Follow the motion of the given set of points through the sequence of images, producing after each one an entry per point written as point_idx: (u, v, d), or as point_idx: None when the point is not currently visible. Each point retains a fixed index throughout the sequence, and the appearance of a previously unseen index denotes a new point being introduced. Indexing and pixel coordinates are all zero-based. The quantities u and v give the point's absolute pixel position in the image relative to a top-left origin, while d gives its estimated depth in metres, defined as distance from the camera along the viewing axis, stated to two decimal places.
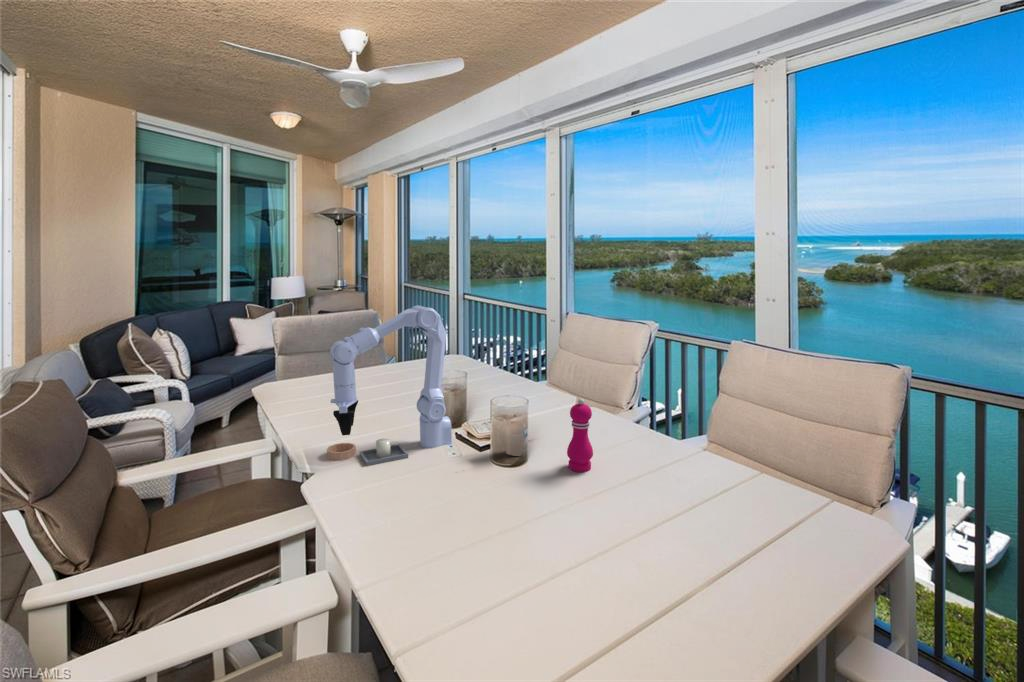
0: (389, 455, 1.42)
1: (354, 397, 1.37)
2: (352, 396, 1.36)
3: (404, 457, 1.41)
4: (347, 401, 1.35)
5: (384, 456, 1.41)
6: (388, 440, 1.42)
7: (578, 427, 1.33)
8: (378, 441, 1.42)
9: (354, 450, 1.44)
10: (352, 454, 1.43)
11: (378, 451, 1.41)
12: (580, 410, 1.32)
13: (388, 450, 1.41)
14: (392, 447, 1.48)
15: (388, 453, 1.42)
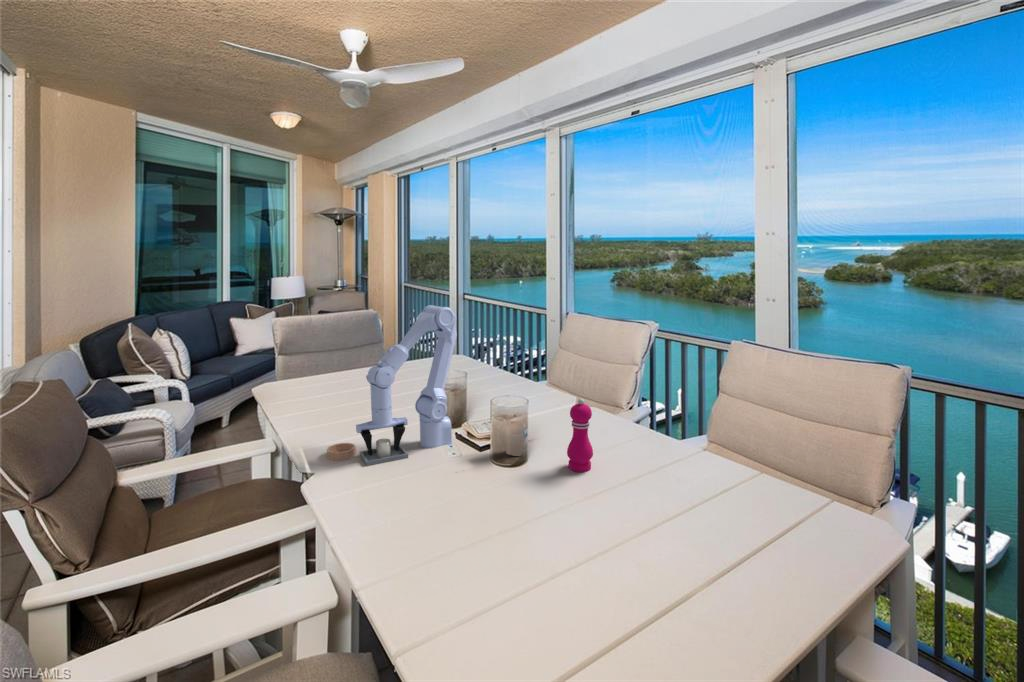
0: (389, 455, 1.42)
1: (380, 422, 1.38)
2: (377, 421, 1.38)
3: (404, 457, 1.41)
4: (373, 423, 1.39)
5: (384, 456, 1.41)
6: (388, 440, 1.42)
7: (578, 427, 1.33)
8: (378, 441, 1.42)
9: (354, 450, 1.44)
10: (352, 454, 1.43)
11: (378, 451, 1.41)
12: (580, 410, 1.32)
13: (388, 450, 1.41)
14: (392, 447, 1.48)
15: (388, 453, 1.42)
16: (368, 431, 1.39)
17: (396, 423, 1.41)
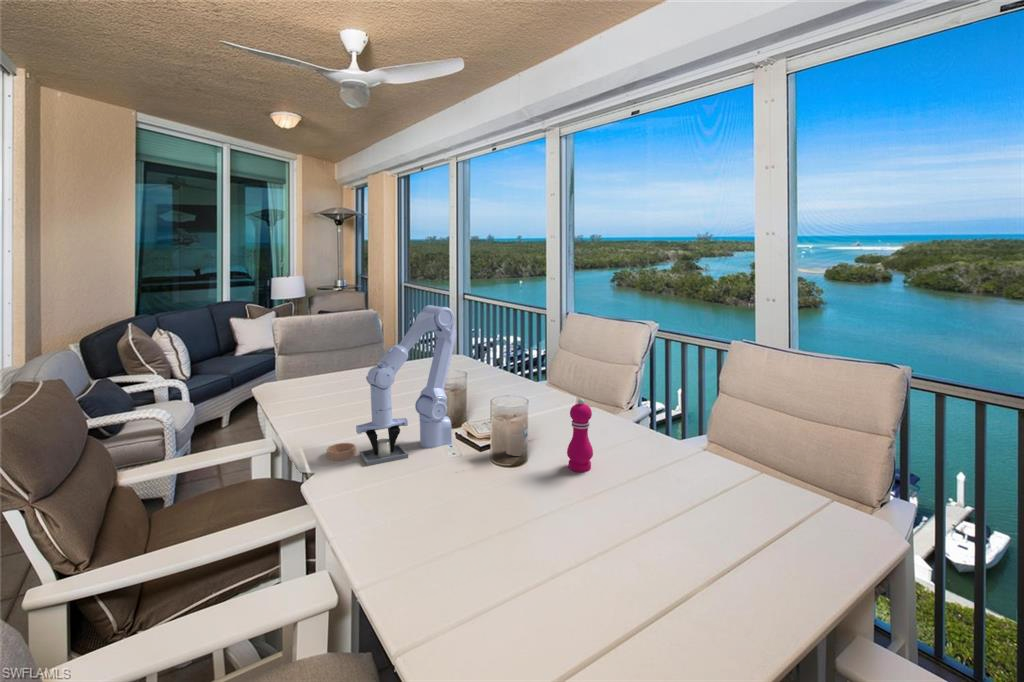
0: (389, 455, 1.42)
1: (380, 423, 1.38)
2: (377, 421, 1.38)
3: (404, 457, 1.41)
4: (373, 424, 1.39)
5: (384, 456, 1.41)
6: (388, 440, 1.42)
7: (578, 427, 1.33)
8: (378, 441, 1.42)
9: (354, 450, 1.44)
10: (352, 454, 1.43)
11: (378, 451, 1.41)
12: (580, 410, 1.32)
13: (388, 450, 1.41)
14: None
15: (388, 453, 1.42)
16: (368, 432, 1.39)
17: (396, 424, 1.41)
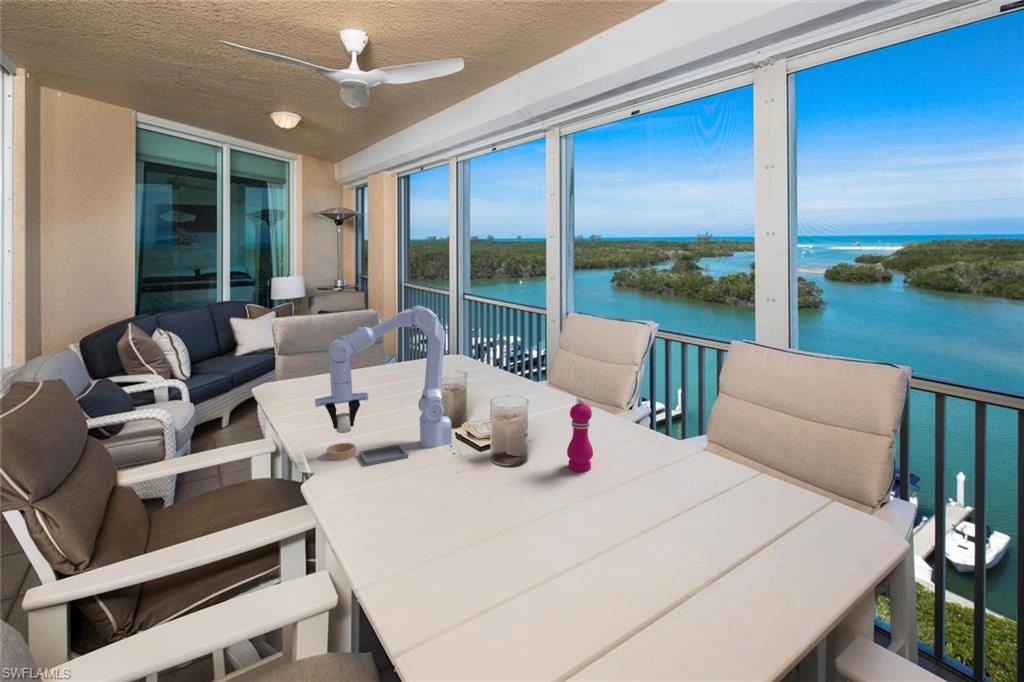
0: (349, 429, 1.42)
1: (339, 396, 1.38)
2: (336, 395, 1.38)
3: (404, 457, 1.41)
4: (332, 398, 1.39)
5: (344, 430, 1.41)
6: (348, 414, 1.42)
7: (578, 427, 1.33)
8: (338, 415, 1.41)
9: (354, 450, 1.44)
10: (352, 454, 1.43)
11: (338, 425, 1.41)
12: (580, 410, 1.32)
13: (348, 424, 1.41)
14: (392, 447, 1.48)
15: (348, 427, 1.42)
16: (327, 405, 1.39)
17: (356, 398, 1.41)
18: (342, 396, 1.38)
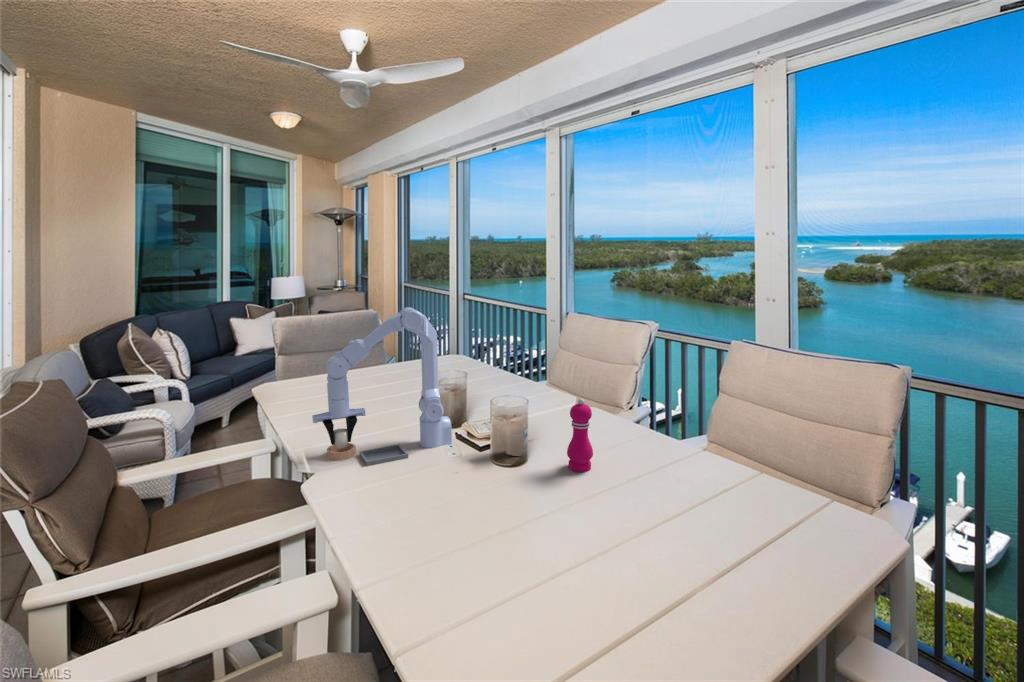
0: (346, 445, 1.43)
1: (336, 413, 1.39)
2: (333, 411, 1.39)
3: (404, 457, 1.41)
4: (329, 414, 1.40)
5: (341, 446, 1.42)
6: (345, 430, 1.43)
7: (578, 427, 1.33)
8: (335, 431, 1.42)
9: (354, 450, 1.44)
10: (352, 454, 1.43)
11: (335, 441, 1.42)
12: (580, 410, 1.32)
13: (345, 440, 1.42)
14: (392, 447, 1.48)
15: (345, 443, 1.42)
16: (324, 421, 1.40)
17: (353, 414, 1.42)
18: (339, 412, 1.39)
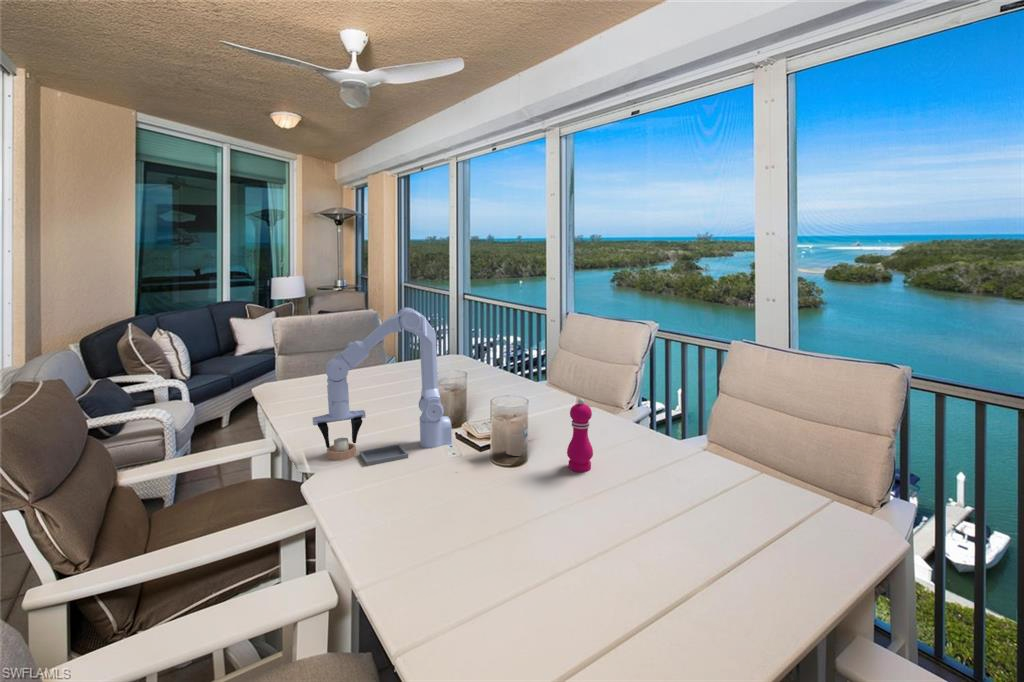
0: None
1: (336, 415, 1.39)
2: (333, 413, 1.39)
3: (404, 457, 1.41)
4: (329, 416, 1.40)
5: None
6: (346, 439, 1.44)
7: (578, 427, 1.33)
8: (336, 440, 1.43)
9: (354, 450, 1.44)
10: (352, 454, 1.43)
11: (336, 450, 1.42)
12: (580, 410, 1.32)
13: (346, 449, 1.43)
14: (392, 447, 1.48)
15: None
16: (325, 424, 1.40)
17: (353, 416, 1.42)
18: (339, 414, 1.40)
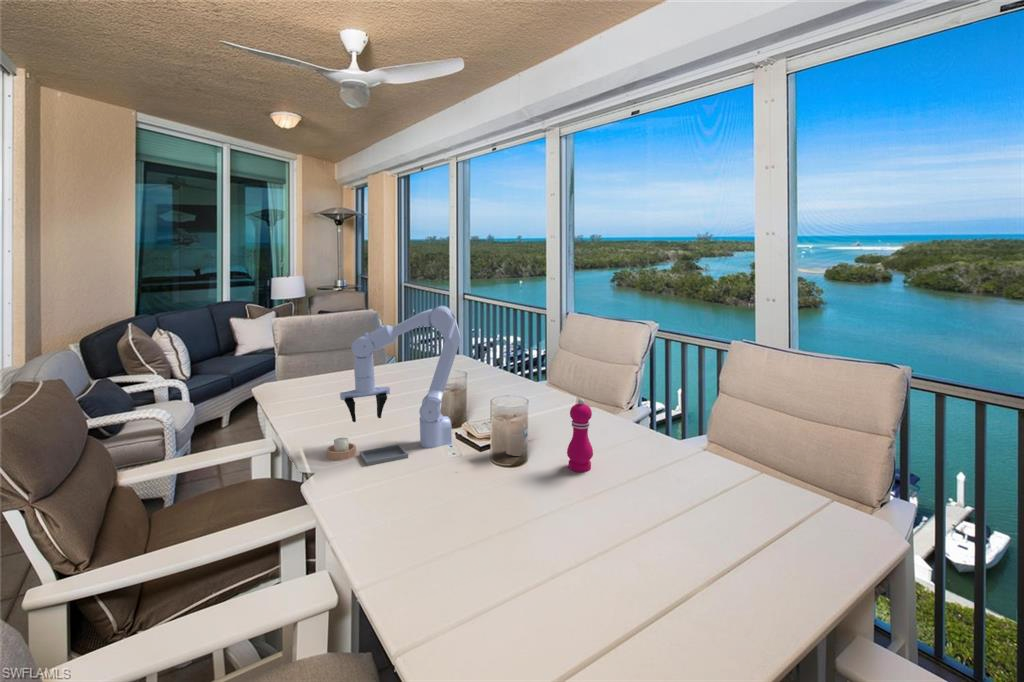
0: None
1: (362, 390, 1.46)
2: (360, 389, 1.46)
3: (404, 457, 1.41)
4: (356, 391, 1.46)
5: None
6: (346, 439, 1.44)
7: (578, 427, 1.33)
8: (336, 440, 1.43)
9: (354, 450, 1.44)
10: (352, 454, 1.43)
11: (336, 450, 1.42)
12: (580, 410, 1.32)
13: (346, 449, 1.43)
14: (392, 447, 1.48)
15: None
16: (351, 399, 1.46)
17: (378, 391, 1.49)
18: (366, 390, 1.46)
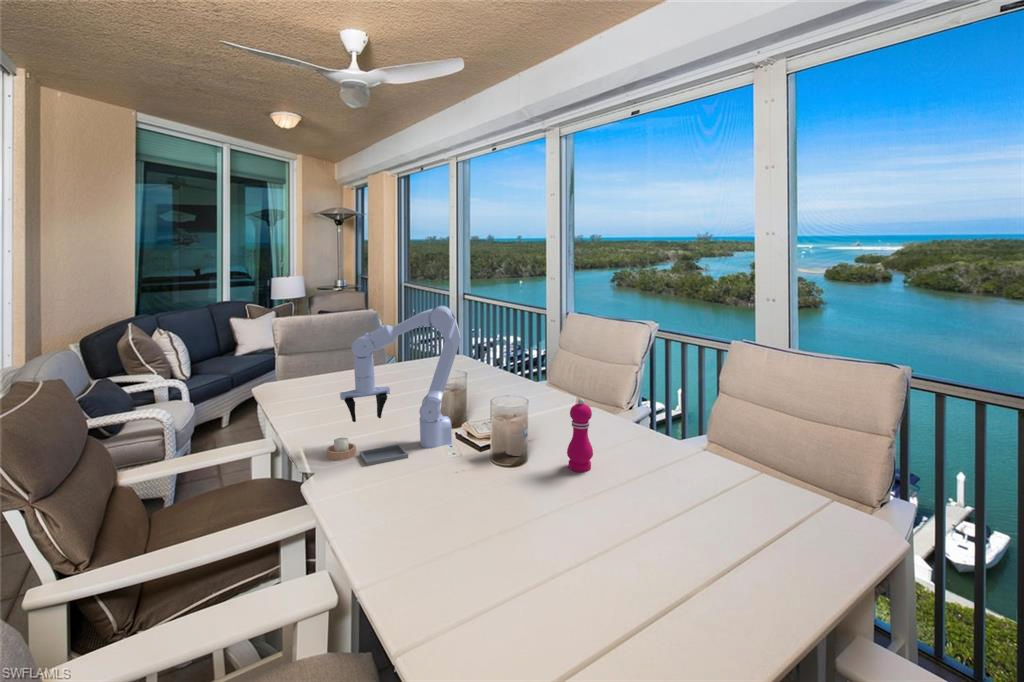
0: None
1: (362, 390, 1.46)
2: (360, 388, 1.46)
3: (404, 457, 1.41)
4: (356, 391, 1.46)
5: None
6: (346, 439, 1.44)
7: (578, 427, 1.33)
8: (336, 440, 1.43)
9: (354, 450, 1.44)
10: (352, 454, 1.43)
11: (336, 450, 1.42)
12: (580, 410, 1.32)
13: (346, 449, 1.43)
14: (392, 447, 1.48)
15: None
16: (352, 398, 1.46)
17: (378, 391, 1.49)
18: (366, 390, 1.46)
